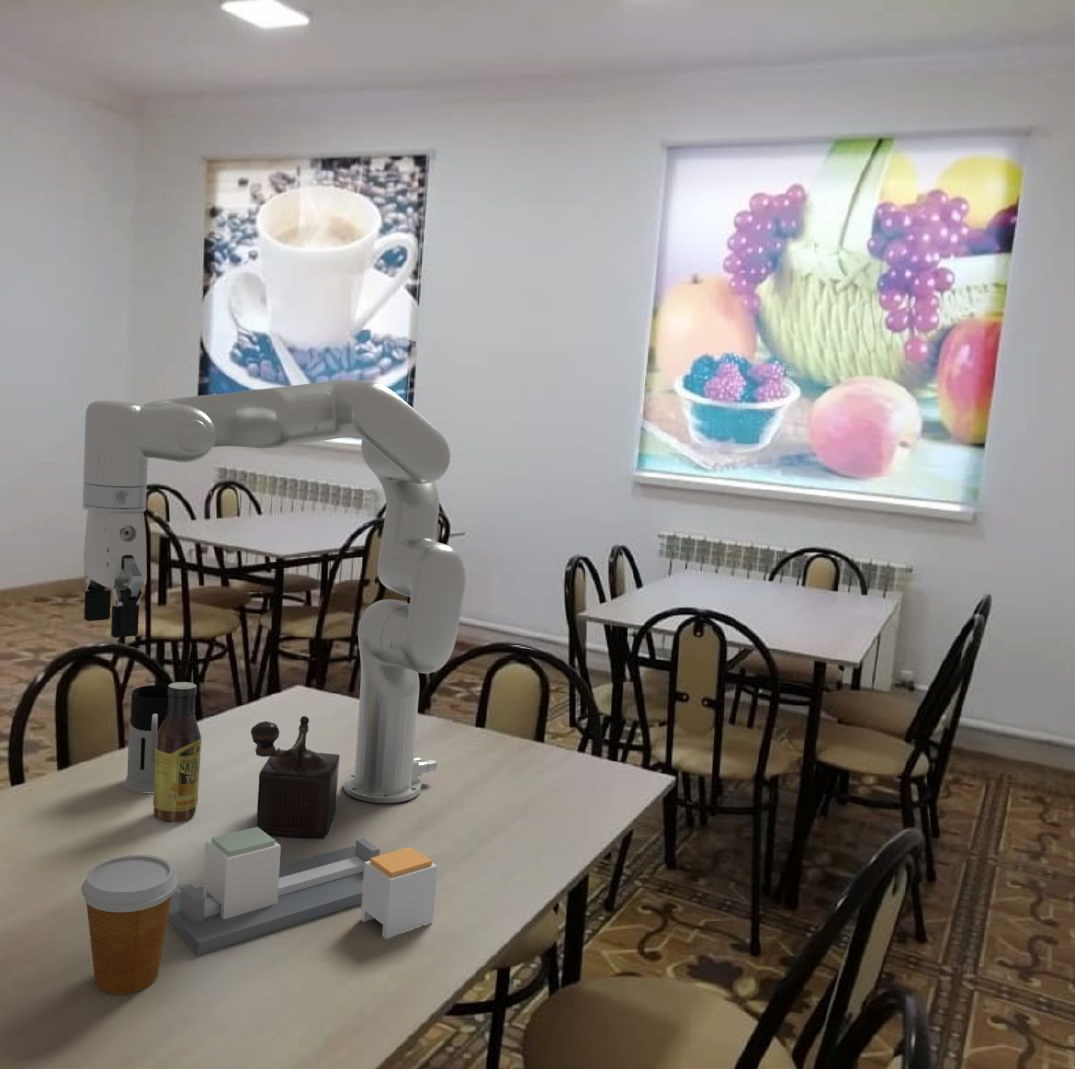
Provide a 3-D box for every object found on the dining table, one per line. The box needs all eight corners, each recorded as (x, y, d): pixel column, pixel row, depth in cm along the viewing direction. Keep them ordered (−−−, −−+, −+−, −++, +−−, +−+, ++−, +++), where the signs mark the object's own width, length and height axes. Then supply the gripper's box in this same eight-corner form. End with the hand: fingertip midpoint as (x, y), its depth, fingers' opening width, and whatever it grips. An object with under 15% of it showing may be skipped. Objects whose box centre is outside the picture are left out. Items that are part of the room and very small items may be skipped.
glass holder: (182, 771, 167) (186, 683, 165) (181, 806, 153) (185, 710, 151) (125, 773, 164) (129, 683, 162) (119, 808, 150) (122, 711, 149)
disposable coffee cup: (96, 952, 113) (99, 851, 112) (183, 955, 114) (188, 854, 113) (64, 1002, 104) (67, 892, 102) (159, 1005, 105) (164, 896, 103)
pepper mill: (265, 806, 156) (271, 693, 154) (337, 811, 157) (344, 698, 154) (240, 850, 141) (247, 726, 138) (320, 855, 141) (328, 731, 139)
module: (406, 904, 130) (411, 844, 129) (432, 923, 126) (437, 861, 125) (360, 919, 125) (364, 857, 124) (385, 939, 121) (390, 875, 120)
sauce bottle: (182, 827, 146) (188, 694, 144) (143, 820, 147) (148, 688, 145) (206, 810, 153) (212, 683, 150) (168, 803, 154) (174, 677, 151)
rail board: (353, 855, 142) (357, 790, 141) (402, 890, 133) (407, 821, 132) (155, 910, 123) (158, 835, 122) (198, 955, 114) (201, 875, 113)
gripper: (171, 506, 126) (165, 640, 128) (119, 490, 139) (115, 612, 141) (109, 507, 121) (104, 646, 123) (61, 489, 134) (58, 616, 136)
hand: (110, 627), depth 132 cm, fingers open, 9 cm apart
